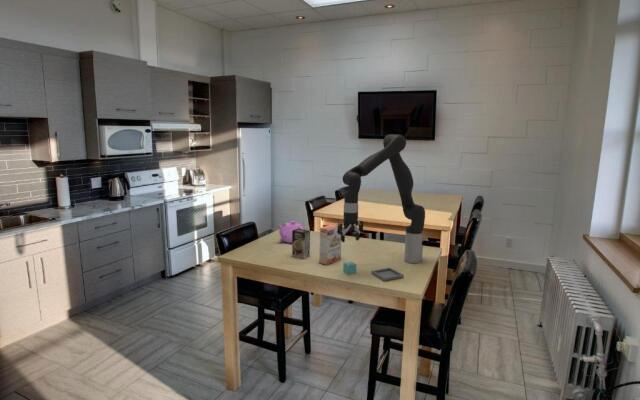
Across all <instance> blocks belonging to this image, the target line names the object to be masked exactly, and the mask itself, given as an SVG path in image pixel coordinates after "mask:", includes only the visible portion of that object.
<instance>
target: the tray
mask: <svg viewBox="0 0 640 400" xmlns="http://www.w3.org/2000/svg"><path fill="white" fill-rule="evenodd" d="M371 275H373V276H374V277H376V278H377V279H379V280H381V281H382V282H385V283H386V282H389V281H396V280H400V279H404V274H403V273H401V272H399V271H397V270H396V269H394V268H391V267H385V268H379V269H375V270H372V271H371Z"/></svg>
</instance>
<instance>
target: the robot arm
mask: <svg viewBox="0 0 640 400" xmlns="http://www.w3.org/2000/svg"><path fill="white" fill-rule="evenodd" d="M382 143H383V148H382V149H381V150H379V151H377V152H375V153H373V154H371V155H369V156H367V157H366V158H364V160H362V161H361V162H360V163H359V164H358V165H356V166H354V167H352V168H351V169H348V170H347V171H345V173H344V174H343V175H342V176H343V177H342V183H343V184H344V185H346V186H348V188H347V189H348V190H346V191H345V192H344V197H343V199H344V200H343V202H344V203H343V222H338V223H337V224H338V230H337V233H338V234H340V235H341V243H345V242H346V240H345V239H346V234H347V233H348V231H355V241H359V240H360V235H361V233H364V221H363V220H361V219H359V193H360V189H361V185H362V178H363V177H367V176H368V175H369V174H371V173H372V172H373V171H374V170H375V169H377V168H378V167H379V166H381V164H384V162H386V161H387V160H389V164H390V166H391V169H392V172H393V176H394V180H395V183H396V186H397V190H398V194H399V197H400V201H401V207H402V212H403V215H404V217H405V218H406V219H407V220H410V221H411V223H410V225H407V226H406V227H405V235H404V236H405V239H404V242H405V243H404V260H403V261H404V262H406V263H408V264H409V263H410V264H419V263H421V262H423V253H424V252H423V251H424V249H423V248H424V245H423V229H424V228H425V220H426V209H425V208H424V207H423V206H422V205H420V204H417V203H415V202H414V199H413V194H412V192H413V188H414V178H413V174H412V171H411V170H410V168H409V166H408V165H407V163H406V162H405V161H404V159H403V158H402V156H401V152H403V150H404V149H405V148H406V145H407V140H406V138H405V136H404V135H401V134H391V133H390V134H387V135H386V136H385V137H384V138H383V142H382Z"/></svg>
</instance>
